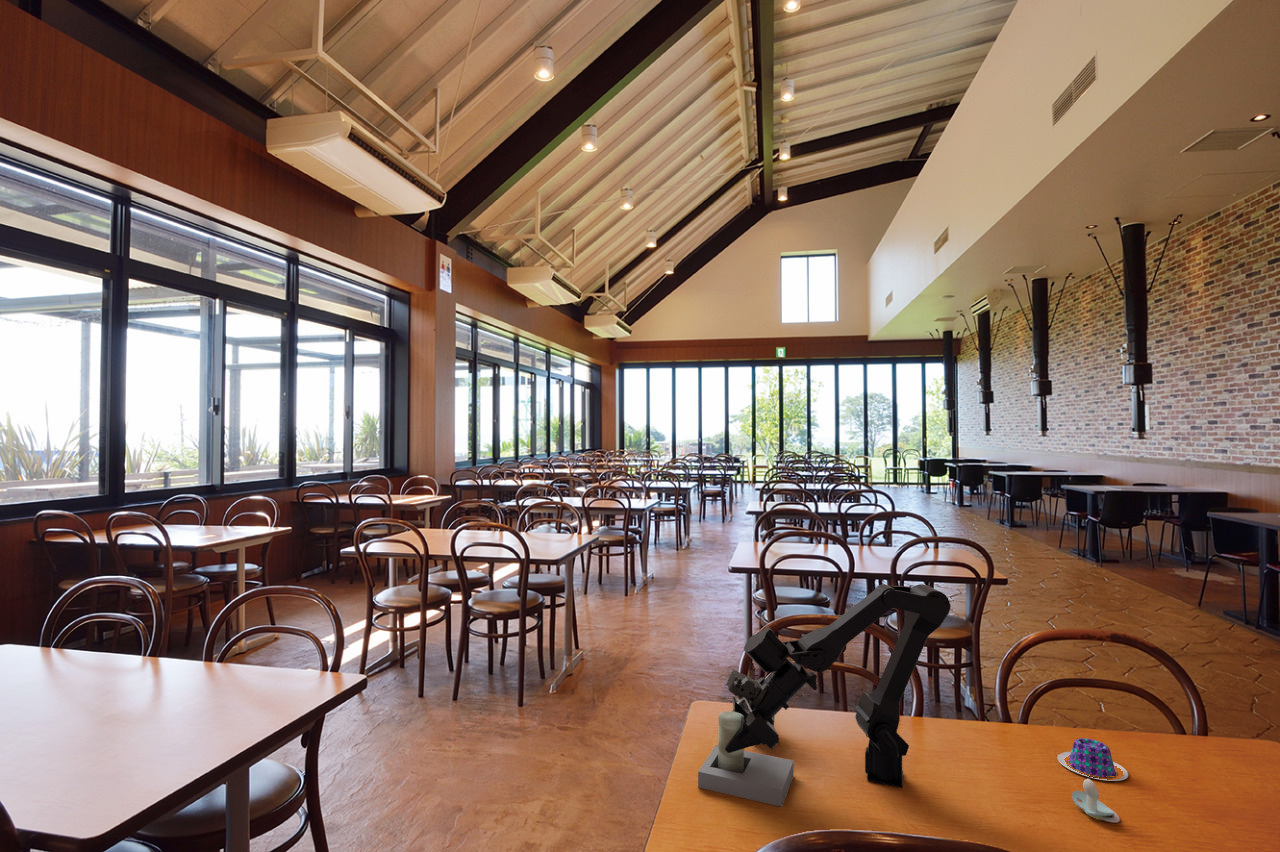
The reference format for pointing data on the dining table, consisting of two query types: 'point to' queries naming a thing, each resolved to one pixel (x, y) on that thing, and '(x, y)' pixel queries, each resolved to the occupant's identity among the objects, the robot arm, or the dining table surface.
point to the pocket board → (749, 777)
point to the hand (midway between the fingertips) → (723, 744)
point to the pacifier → (1093, 803)
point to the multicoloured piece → (1091, 759)
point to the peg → (726, 731)
